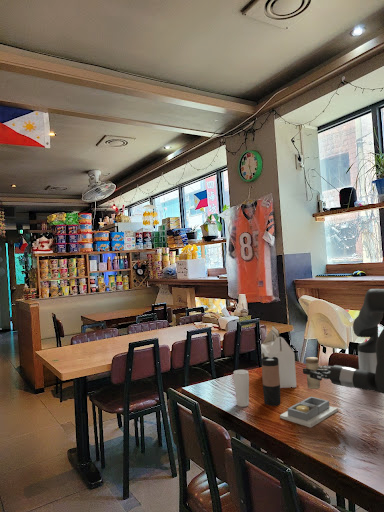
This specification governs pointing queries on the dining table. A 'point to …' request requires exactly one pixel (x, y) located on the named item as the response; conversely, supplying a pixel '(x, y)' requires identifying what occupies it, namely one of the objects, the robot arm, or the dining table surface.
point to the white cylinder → (242, 387)
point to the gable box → (280, 357)
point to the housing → (309, 412)
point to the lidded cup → (313, 365)
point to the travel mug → (271, 381)
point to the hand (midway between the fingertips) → (307, 369)
